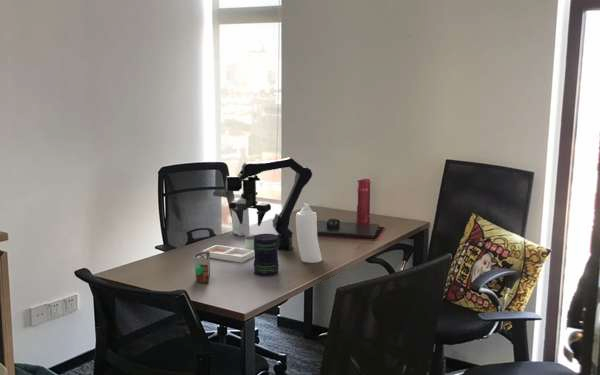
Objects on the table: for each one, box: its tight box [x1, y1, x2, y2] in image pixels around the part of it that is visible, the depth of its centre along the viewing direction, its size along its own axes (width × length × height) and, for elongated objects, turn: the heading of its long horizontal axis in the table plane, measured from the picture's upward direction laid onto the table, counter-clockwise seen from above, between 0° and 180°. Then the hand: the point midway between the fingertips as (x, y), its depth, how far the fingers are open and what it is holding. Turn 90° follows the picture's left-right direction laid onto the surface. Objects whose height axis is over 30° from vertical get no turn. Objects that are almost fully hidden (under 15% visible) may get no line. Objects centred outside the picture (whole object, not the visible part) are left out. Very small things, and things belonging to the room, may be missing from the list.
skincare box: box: [230, 208, 251, 236], centre depth 306 cm, size 8×6×15 cm
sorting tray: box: [201, 244, 255, 264], centre depth 268 cm, size 20×11×2 cm, turn 64°
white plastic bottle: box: [295, 202, 323, 264], centre depth 260 cm, size 12×11×25 cm
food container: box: [192, 250, 211, 285], centre depth 236 cm, size 12×6×10 cm, turn 5°
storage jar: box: [253, 233, 279, 278], centre depth 244 cm, size 10×10×15 cm
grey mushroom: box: [244, 233, 256, 250], centre depth 277 cm, size 5×5×7 cm
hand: (250, 224), depth 275 cm, fingers open, 9 cm apart
